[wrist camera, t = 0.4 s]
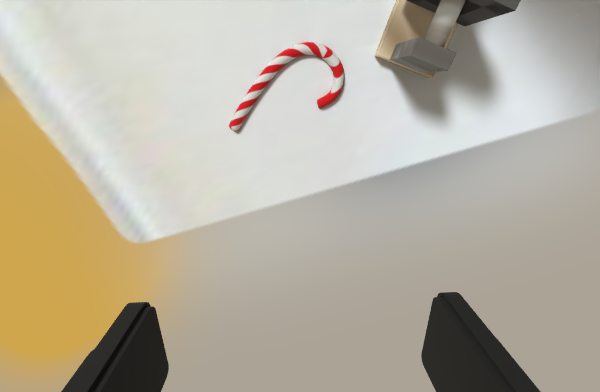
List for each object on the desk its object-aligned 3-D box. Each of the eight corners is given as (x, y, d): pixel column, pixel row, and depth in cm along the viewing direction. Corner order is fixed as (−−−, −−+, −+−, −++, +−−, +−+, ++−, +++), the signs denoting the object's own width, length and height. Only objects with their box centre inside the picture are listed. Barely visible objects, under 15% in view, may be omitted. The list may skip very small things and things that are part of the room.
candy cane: (211, 106, 34) (319, 22, 31) (214, 105, 35) (317, 24, 32) (253, 159, 36) (355, 86, 34) (254, 157, 37) (353, 86, 35)
